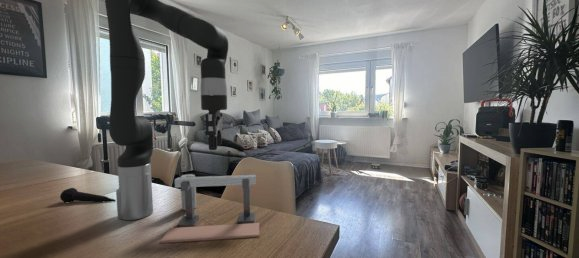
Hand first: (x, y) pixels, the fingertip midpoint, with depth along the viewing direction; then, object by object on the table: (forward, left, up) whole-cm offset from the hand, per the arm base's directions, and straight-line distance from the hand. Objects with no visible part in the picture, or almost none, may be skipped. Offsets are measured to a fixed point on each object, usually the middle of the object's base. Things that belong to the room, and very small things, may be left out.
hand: (215, 147), depth 74 cm
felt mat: (0, -7, -24) cm, 25 cm away
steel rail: (0, 0, -12) cm, 12 cm away
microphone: (-53, +23, -24) cm, 63 cm away
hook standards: (0, 0, -24) cm, 24 cm away
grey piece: (-12, +12, -24) cm, 29 cm away
